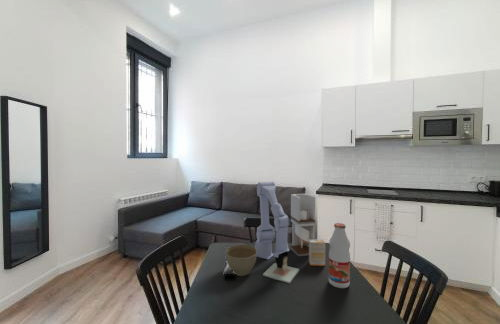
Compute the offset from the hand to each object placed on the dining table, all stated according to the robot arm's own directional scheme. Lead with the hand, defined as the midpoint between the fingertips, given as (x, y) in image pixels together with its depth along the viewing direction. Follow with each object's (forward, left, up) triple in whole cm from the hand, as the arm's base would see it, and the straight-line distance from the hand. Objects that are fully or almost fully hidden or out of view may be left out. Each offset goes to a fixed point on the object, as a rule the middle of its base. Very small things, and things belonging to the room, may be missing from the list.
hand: (281, 265), depth 121 cm
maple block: (0, 0, -2) cm, 2 cm away
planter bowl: (-18, -9, -4) cm, 21 cm away
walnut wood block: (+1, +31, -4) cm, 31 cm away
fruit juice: (+27, +5, -4) cm, 28 cm away
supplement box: (+13, +19, -4) cm, 23 cm away
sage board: (0, 0, -4) cm, 4 cm away
